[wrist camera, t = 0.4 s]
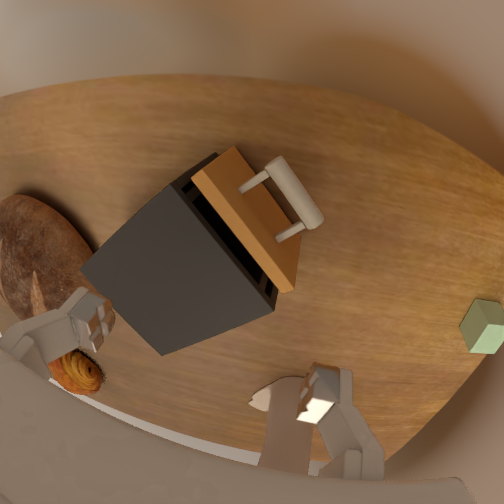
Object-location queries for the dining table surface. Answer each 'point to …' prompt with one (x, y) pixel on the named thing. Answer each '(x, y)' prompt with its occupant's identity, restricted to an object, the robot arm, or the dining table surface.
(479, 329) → the block
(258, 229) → the drawer
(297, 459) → the candle
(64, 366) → the croissant
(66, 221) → the bread
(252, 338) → the dining table surface
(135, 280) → the cabinet
